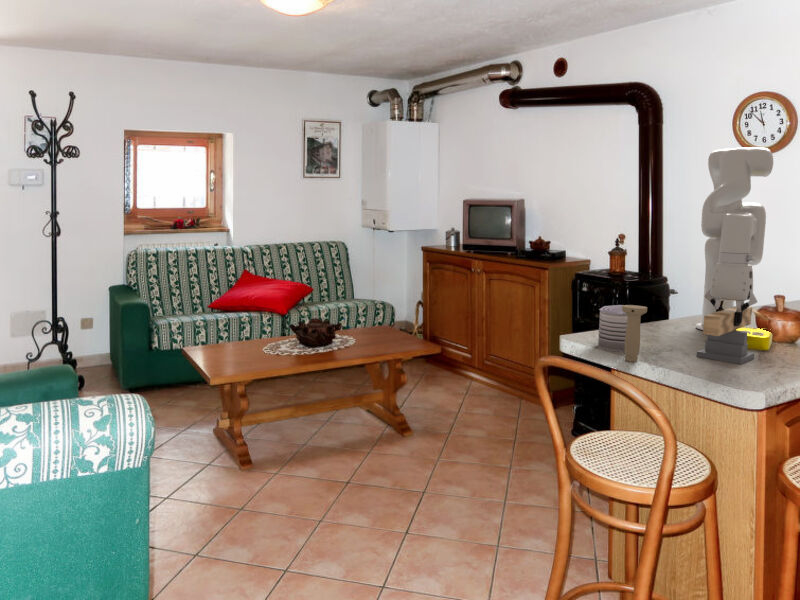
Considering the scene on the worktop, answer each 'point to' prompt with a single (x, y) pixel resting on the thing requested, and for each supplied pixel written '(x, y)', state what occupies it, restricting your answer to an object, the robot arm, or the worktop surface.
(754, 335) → the element tile
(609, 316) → the can
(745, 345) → the fulcrum stand
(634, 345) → the handle
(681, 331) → the worktop surface
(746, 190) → the robot arm
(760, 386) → the worktop surface
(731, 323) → the oak batten
